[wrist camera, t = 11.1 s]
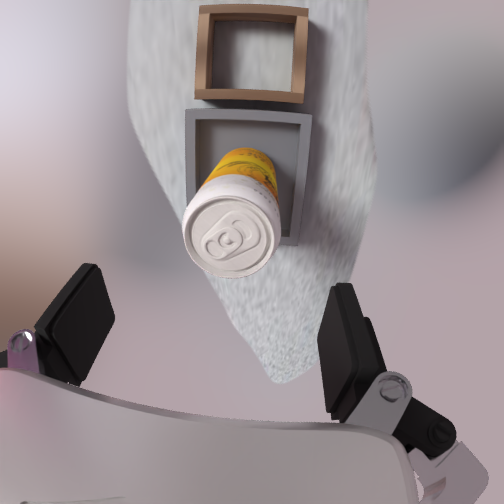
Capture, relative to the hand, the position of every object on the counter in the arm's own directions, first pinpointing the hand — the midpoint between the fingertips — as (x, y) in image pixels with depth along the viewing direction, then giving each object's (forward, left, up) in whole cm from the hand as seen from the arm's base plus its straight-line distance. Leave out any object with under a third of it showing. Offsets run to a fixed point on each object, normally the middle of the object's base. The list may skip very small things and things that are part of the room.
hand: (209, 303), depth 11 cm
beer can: (0, 0, -21) cm, 21 cm away
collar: (-13, 0, -22) cm, 25 cm away
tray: (0, 0, -22) cm, 22 cm away
